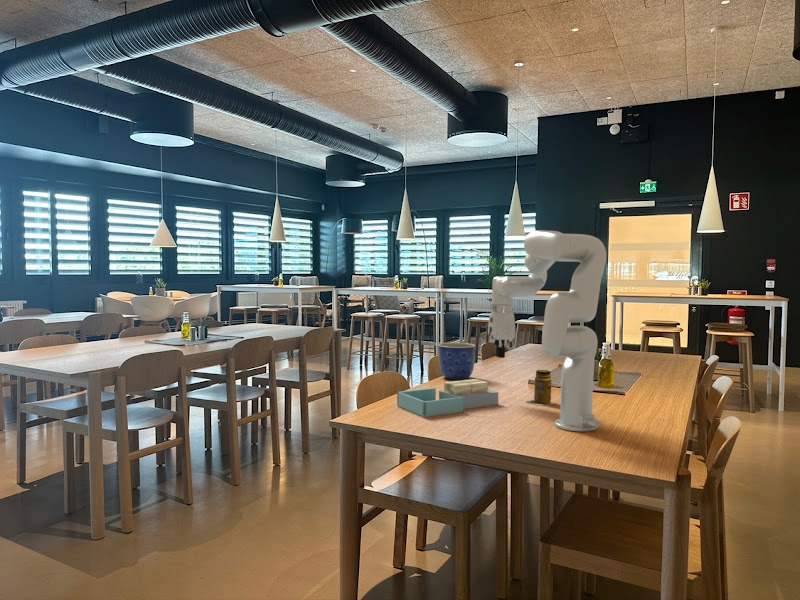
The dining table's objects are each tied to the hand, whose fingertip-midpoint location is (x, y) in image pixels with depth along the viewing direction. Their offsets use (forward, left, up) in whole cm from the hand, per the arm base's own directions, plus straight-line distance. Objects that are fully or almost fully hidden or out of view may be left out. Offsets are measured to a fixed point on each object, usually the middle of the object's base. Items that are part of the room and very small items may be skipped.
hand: (500, 357), depth 214 cm
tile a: (-1, +13, -12) cm, 17 cm away
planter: (+43, -11, -16) cm, 48 cm away
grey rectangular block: (-1, +15, -16) cm, 22 cm away
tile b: (-1, +20, -12) cm, 23 cm away
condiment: (-12, -10, -16) cm, 22 cm away
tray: (-1, +32, -16) cm, 36 cm away
